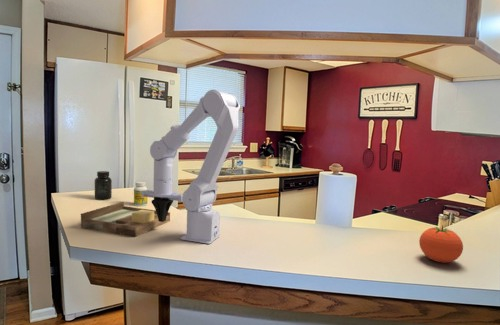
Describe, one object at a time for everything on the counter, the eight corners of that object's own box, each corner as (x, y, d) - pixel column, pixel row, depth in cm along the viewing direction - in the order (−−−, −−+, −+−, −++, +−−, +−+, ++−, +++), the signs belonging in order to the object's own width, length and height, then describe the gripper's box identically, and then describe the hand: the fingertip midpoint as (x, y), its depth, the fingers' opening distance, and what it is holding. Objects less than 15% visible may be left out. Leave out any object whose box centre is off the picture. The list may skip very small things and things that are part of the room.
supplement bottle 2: (148, 203, 137) (148, 181, 136) (146, 206, 132) (146, 183, 131) (135, 203, 136) (135, 181, 135) (132, 206, 131) (132, 183, 130)
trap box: (169, 220, 113) (170, 208, 113) (135, 237, 95) (135, 222, 95) (122, 213, 120) (122, 201, 119) (81, 227, 101) (80, 213, 101)
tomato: (445, 254, 93) (448, 220, 92) (470, 269, 83) (474, 232, 82) (410, 253, 93) (413, 219, 92) (431, 268, 82) (435, 230, 81)
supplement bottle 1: (98, 196, 145) (98, 170, 144) (113, 197, 146) (113, 171, 145) (91, 200, 139) (91, 172, 137) (108, 200, 139) (108, 173, 138)
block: (154, 219, 107) (154, 211, 107) (144, 223, 102) (145, 214, 102) (141, 217, 109) (141, 209, 108) (131, 221, 104) (131, 213, 104)
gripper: (189, 179, 103) (188, 220, 105) (151, 175, 108) (150, 215, 109) (178, 182, 97) (177, 226, 98) (137, 178, 101) (137, 220, 102)
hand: (162, 220), depth 103 cm, fingers closed
